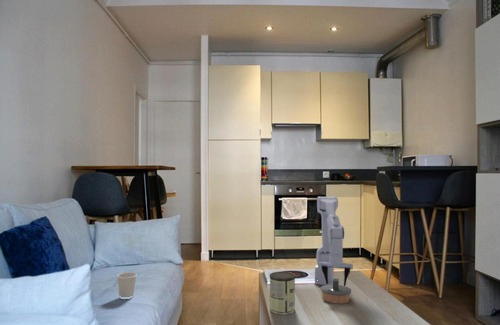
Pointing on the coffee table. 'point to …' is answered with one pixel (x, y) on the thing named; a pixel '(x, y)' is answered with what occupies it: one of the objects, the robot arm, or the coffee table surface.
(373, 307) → the coffee table surface
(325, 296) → the bowl
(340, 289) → the lid
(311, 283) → the coffee table surface
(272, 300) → the coffee can
